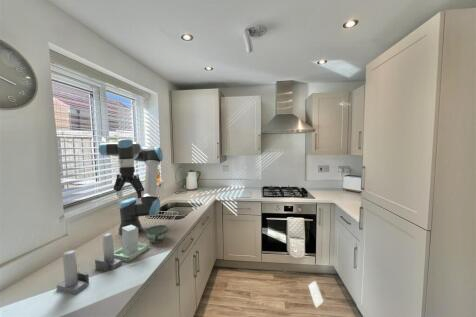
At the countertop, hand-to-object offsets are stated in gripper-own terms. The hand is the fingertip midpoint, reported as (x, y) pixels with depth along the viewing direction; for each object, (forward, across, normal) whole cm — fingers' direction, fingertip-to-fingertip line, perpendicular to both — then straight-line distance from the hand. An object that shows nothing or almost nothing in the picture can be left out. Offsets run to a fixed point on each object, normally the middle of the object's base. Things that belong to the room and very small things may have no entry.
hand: (129, 202), depth 117 cm
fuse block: (+29, 0, -24) cm, 37 cm away
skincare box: (+29, +2, -3) cm, 29 cm away
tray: (+29, +1, -2) cm, 29 cm away
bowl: (+30, +6, +14) cm, 33 cm away
